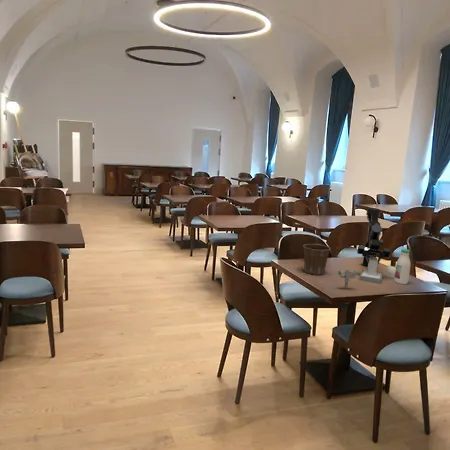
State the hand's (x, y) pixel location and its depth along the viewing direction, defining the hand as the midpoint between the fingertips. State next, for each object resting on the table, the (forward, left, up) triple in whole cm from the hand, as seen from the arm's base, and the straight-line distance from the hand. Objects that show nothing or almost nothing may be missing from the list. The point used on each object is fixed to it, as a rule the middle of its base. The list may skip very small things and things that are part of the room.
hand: (373, 263), depth 261 cm
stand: (-1, -1, -10) cm, 10 cm away
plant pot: (+23, -25, -10) cm, 35 cm away
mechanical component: (+30, +5, -10) cm, 32 cm away
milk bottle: (-12, +12, -10) cm, 20 cm away
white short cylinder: (-17, +2, -10) cm, 20 cm away
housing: (-1, -1, -7) cm, 7 cm away
